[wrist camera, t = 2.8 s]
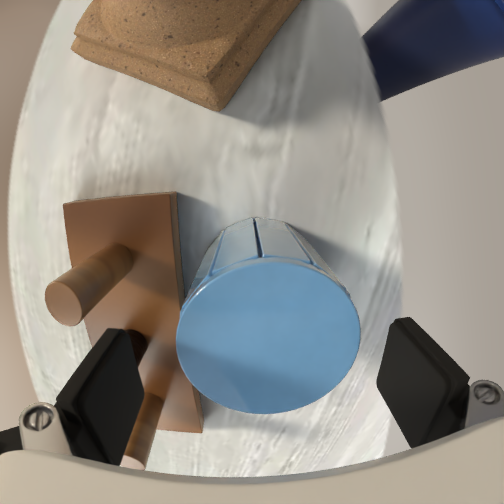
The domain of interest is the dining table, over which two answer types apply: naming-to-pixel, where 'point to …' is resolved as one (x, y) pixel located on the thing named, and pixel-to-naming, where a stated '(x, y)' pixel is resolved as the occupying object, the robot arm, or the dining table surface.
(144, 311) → the rack
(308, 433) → the dining table surface
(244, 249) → the cup
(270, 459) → the dining table surface
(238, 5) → the candle holder
